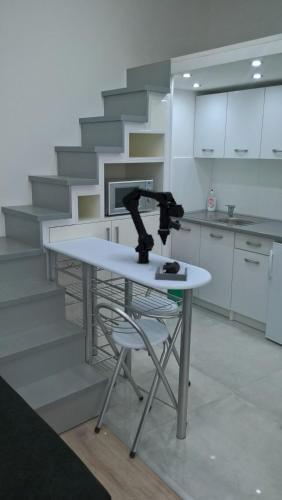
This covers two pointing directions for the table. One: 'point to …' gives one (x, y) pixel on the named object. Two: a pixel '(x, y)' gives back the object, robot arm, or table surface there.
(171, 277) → the bay
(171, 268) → the end cap
